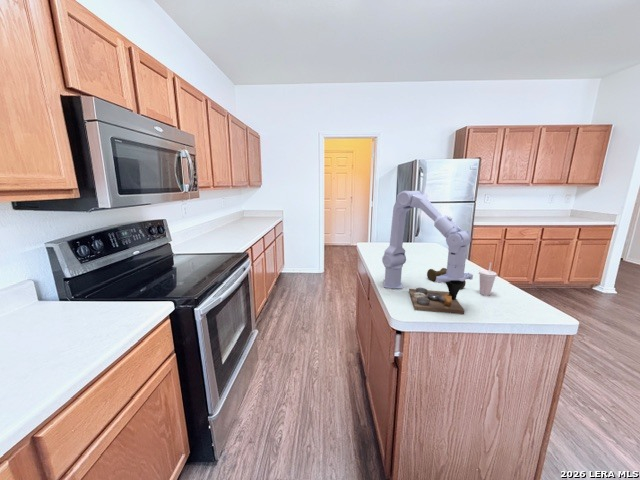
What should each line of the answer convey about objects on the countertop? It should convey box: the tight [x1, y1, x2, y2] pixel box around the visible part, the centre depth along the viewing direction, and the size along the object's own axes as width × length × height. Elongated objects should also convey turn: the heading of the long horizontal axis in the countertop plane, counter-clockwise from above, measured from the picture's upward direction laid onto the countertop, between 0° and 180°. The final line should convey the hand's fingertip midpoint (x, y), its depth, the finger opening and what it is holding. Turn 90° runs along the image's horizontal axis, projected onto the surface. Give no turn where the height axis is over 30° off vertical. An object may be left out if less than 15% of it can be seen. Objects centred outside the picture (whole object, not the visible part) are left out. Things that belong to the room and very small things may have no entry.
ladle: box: [428, 293, 452, 306], centre depth 100 cm, size 10×5×4 cm, turn 21°
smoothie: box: [478, 262, 498, 297], centre depth 110 cm, size 6×6×14 cm
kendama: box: [426, 267, 466, 290], centre depth 125 cm, size 6×10×20 cm
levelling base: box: [408, 287, 466, 315], centre depth 103 cm, size 17×17×3 cm
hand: (452, 298), depth 97 cm, fingers closed
